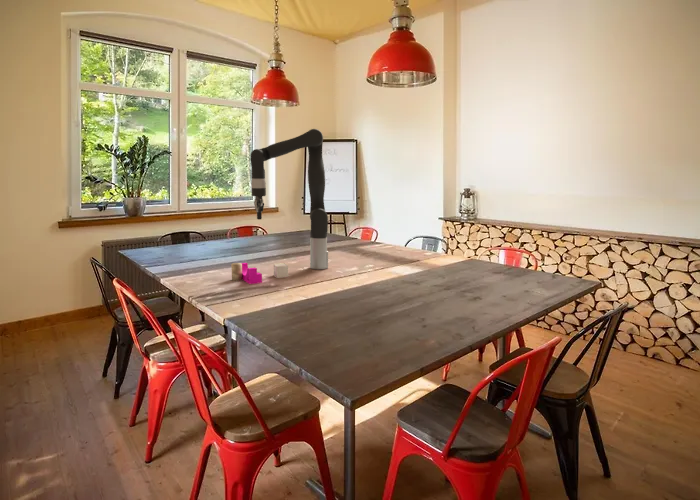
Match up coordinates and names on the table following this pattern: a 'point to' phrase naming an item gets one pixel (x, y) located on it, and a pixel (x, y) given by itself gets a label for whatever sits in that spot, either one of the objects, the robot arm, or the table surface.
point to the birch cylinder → (236, 271)
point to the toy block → (250, 274)
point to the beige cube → (280, 270)
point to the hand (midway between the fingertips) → (259, 219)
